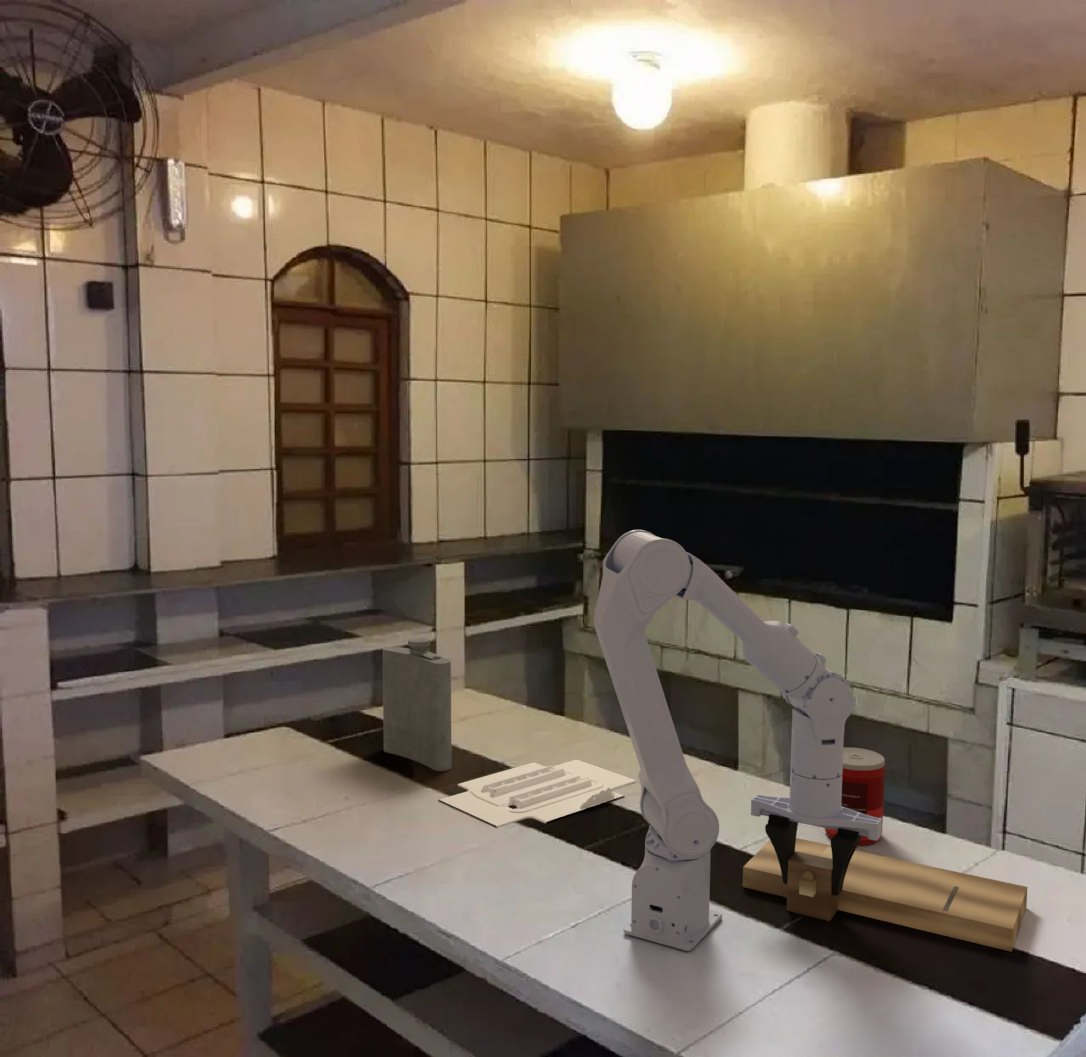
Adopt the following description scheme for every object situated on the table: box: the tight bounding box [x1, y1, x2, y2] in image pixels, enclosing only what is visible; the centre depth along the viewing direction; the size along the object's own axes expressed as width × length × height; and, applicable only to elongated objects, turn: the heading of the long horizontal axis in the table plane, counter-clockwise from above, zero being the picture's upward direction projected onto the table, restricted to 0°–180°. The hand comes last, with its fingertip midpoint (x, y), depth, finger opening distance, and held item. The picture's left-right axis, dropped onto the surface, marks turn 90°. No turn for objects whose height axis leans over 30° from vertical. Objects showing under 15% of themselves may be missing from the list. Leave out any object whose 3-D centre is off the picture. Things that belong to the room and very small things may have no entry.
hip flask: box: [382, 637, 452, 772], centre depth 176 cm, size 16×4×20 cm, turn 45°
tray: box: [438, 759, 637, 829], centre depth 161 cm, size 20×28×4 cm
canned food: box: [824, 747, 886, 846], centre depth 145 cm, size 8×8×11 cm
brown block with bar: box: [786, 847, 838, 922], centre depth 125 cm, size 11×5×6 cm, turn 149°
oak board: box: [742, 837, 1028, 952], centre depth 126 cm, size 12×30×2 cm, turn 59°
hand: (812, 886), depth 123 cm, fingers closed on brown block with bar, 5 cm apart
